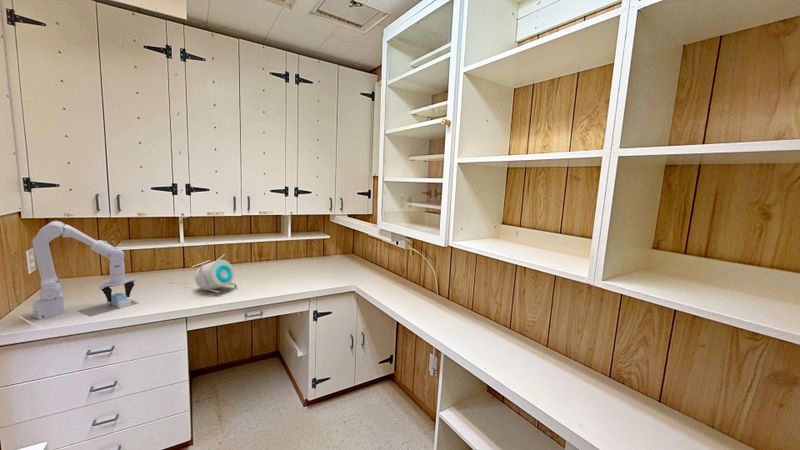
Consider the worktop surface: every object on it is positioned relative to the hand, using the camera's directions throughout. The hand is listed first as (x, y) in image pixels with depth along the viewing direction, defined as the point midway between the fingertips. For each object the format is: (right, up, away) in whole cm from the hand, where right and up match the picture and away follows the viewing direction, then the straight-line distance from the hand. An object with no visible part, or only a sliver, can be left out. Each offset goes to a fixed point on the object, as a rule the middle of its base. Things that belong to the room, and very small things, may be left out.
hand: (118, 299), depth 167 cm
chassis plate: (-2, -4, -3) cm, 6 cm away
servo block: (0, -3, 0) cm, 3 cm away
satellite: (+31, -2, +30) cm, 44 cm away
